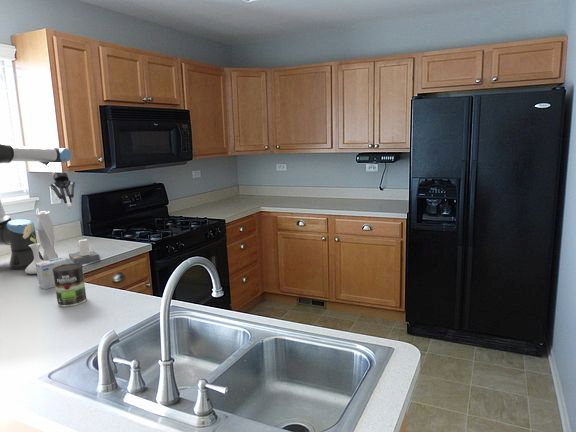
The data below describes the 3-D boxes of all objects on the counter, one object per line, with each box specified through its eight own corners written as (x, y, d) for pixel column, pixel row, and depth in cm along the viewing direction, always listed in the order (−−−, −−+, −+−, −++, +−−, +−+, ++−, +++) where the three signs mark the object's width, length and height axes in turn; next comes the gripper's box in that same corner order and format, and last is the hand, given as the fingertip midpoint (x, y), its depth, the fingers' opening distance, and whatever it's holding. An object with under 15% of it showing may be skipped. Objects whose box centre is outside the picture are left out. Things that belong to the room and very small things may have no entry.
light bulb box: (63, 279, 195) (60, 256, 193) (70, 282, 191) (66, 259, 189) (38, 286, 187) (34, 263, 185) (44, 289, 183) (40, 265, 181)
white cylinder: (81, 256, 220) (79, 241, 219) (80, 254, 224) (77, 240, 222) (90, 254, 223) (87, 240, 221) (88, 253, 226) (86, 238, 224)
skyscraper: (39, 261, 228) (30, 209, 223) (52, 257, 235) (43, 206, 229) (49, 262, 225) (40, 209, 219) (61, 258, 231) (53, 207, 226)
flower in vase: (26, 271, 211) (17, 221, 206) (52, 267, 216) (45, 218, 211) (24, 278, 199) (15, 225, 195) (52, 273, 204) (43, 222, 200)
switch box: (74, 264, 218) (73, 259, 217) (69, 259, 229) (68, 253, 228) (99, 260, 225) (98, 254, 224) (93, 254, 236) (92, 249, 235)
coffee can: (84, 304, 163) (79, 269, 161) (54, 308, 161) (49, 272, 158) (89, 295, 173) (84, 261, 170) (61, 299, 170) (55, 265, 168)
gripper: (72, 178, 255) (82, 209, 245) (47, 180, 247) (56, 212, 237) (72, 170, 250) (82, 201, 240) (47, 172, 242) (56, 204, 232)
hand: (69, 206), depth 238 cm, fingers closed
